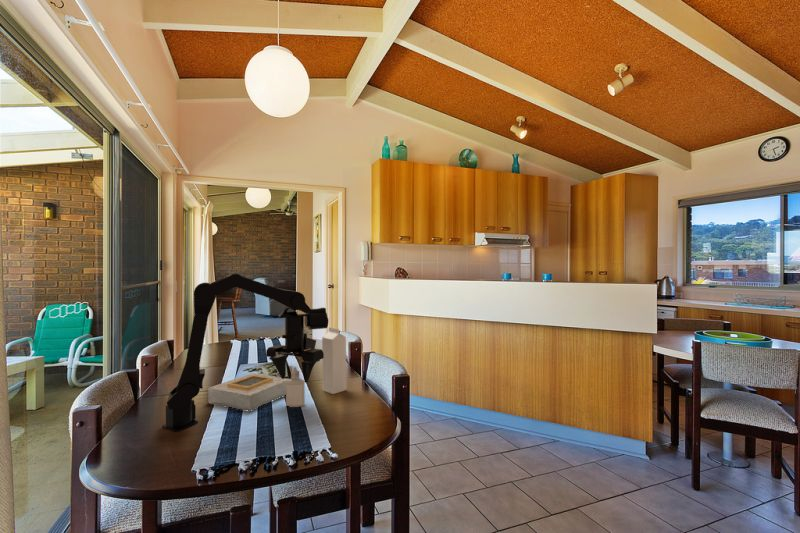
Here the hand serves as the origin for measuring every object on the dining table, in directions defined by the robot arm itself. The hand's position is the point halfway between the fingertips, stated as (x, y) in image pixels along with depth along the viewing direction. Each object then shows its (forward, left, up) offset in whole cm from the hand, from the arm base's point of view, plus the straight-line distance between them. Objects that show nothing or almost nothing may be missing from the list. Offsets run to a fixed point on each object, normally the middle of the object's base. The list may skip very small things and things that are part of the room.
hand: (294, 380), depth 118 cm
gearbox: (+2, +18, -8) cm, 20 cm away
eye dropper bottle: (0, 0, -8) cm, 8 cm away
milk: (+17, -3, -8) cm, 19 cm away
